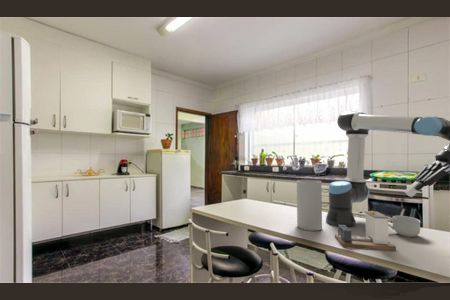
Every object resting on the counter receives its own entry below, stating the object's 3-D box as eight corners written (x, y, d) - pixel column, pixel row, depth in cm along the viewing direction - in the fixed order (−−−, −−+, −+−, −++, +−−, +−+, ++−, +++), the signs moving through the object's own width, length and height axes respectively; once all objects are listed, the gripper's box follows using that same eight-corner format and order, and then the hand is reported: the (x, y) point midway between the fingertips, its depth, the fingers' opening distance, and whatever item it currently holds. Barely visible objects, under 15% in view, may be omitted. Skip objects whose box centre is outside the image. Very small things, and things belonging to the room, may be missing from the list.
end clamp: (338, 235, 104) (337, 224, 104) (345, 235, 104) (344, 225, 104) (344, 241, 96) (343, 230, 96) (351, 242, 96) (351, 230, 96)
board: (334, 237, 106) (334, 233, 106) (381, 239, 103) (381, 236, 103) (343, 247, 94) (343, 243, 95) (396, 250, 91) (396, 246, 91)
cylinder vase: (300, 222, 129) (299, 179, 130) (323, 226, 123) (322, 180, 124) (294, 228, 119) (294, 181, 119) (320, 232, 112) (319, 182, 113)
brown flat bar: (338, 237, 102) (338, 235, 102) (385, 240, 98) (384, 237, 98) (340, 239, 99) (340, 237, 99) (388, 242, 95) (388, 240, 96)
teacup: (421, 234, 109) (420, 218, 110) (420, 240, 101) (420, 223, 102) (386, 228, 119) (386, 213, 119) (383, 233, 111) (383, 217, 111)
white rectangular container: (365, 236, 103) (364, 209, 103) (378, 236, 102) (377, 209, 102) (375, 243, 94) (374, 214, 94) (389, 244, 93) (388, 214, 93)
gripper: (474, 162, 86) (426, 204, 89) (446, 161, 100) (405, 197, 102) (458, 148, 87) (410, 190, 90) (432, 149, 101) (391, 185, 103)
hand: (407, 194), depth 96 cm, fingers closed
